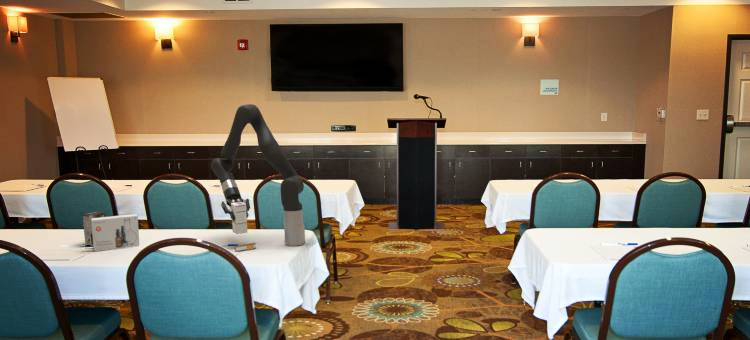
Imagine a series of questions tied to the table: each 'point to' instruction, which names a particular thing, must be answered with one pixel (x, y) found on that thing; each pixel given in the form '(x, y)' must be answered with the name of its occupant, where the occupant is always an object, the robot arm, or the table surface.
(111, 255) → the table surface
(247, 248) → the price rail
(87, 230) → the coffee box
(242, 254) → the table surface
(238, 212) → the syrup box
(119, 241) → the skincare box
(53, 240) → the table surface
